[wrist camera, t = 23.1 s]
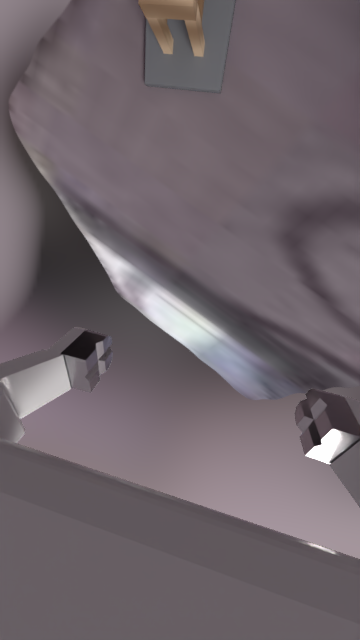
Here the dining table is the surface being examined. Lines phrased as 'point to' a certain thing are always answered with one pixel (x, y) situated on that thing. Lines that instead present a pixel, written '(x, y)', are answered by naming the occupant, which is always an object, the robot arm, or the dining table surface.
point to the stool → (178, 4)
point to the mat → (182, 64)
